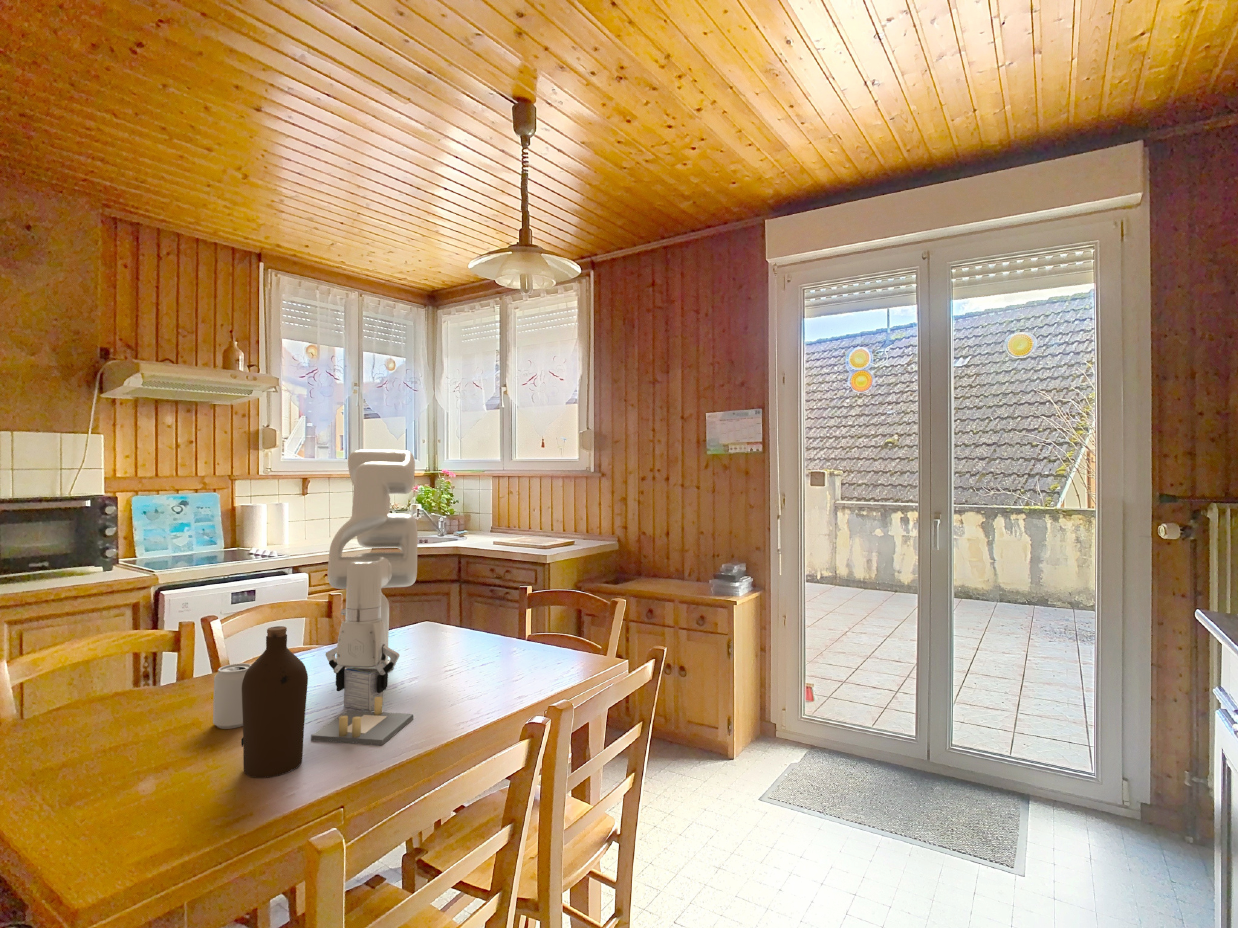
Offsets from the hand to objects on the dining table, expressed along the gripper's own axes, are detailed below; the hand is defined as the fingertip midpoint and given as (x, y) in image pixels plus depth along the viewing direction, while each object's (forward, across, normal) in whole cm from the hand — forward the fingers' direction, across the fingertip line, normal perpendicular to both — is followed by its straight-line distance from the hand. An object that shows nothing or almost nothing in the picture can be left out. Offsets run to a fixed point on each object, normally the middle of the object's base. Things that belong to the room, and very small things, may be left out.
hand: (361, 690), depth 146 cm
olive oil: (+5, 0, -30) cm, 30 cm away
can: (+4, -22, -13) cm, 25 cm away
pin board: (+4, +7, -11) cm, 14 cm away
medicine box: (+4, 0, +1) cm, 4 cm away
